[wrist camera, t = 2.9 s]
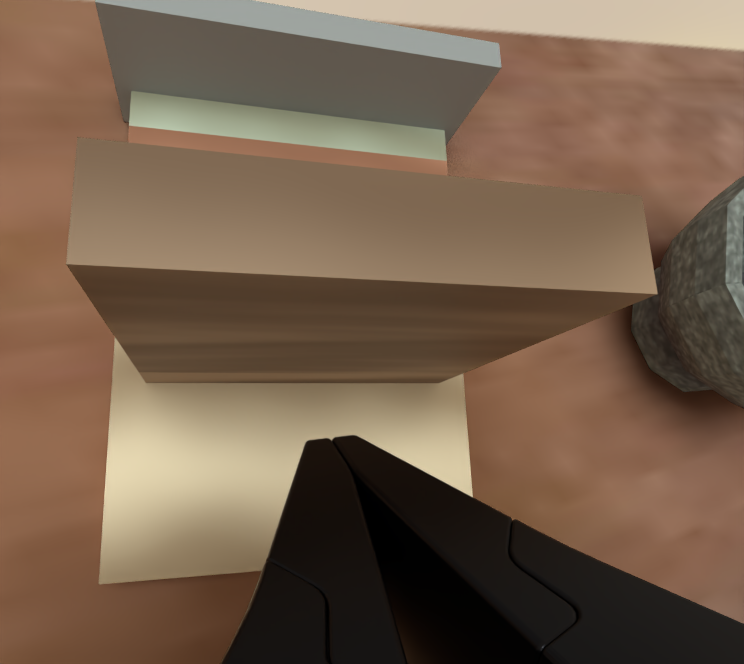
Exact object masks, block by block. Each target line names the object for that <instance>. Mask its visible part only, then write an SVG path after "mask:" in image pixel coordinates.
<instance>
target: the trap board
mask: <svg viewBox="0 0 744 664" xmlns="http://www.w3.org/2000/svg"><path fill="white" fill-rule="evenodd" d="M128 142H129V143H139V144H148V145H158V146H168V147H177V148H187V149H196V150H206V151H216V152H225V153H235V154H244V155H254V156H264V157H273V158H283V159H292V160H302V161H312V162H321V163H331V164H340V165H350V166H360V167H369V168H379V169H388V170H398V171H408V172H417V173H427V174H436V175H446V176H448V170H447V157H446V144H445V131H444V130H437V129H430V128H422V127H414V126H406V125H398V124H390V123H382V122H374V121H366V120H358V119H350V118H343V117H335V116H327V115H319V114H311V113H303V112H295V111H287V110H279V109H271V108H263V107H256V106H248V105H240V104H232V103H224V102H216V101H208V100H200V99H192V98H184V97H176V96H168V95H161V94H153V93H145V92H137V91H131V103H130V118H129V133H128ZM348 435H356V436H359V437H360V438H362V439H364V440H366V441H368V442H370V443H372V444H374V445H375V446H377V447H379V448H381V449H383V450H385V451H387V452H389V453H390V454H392V455H394V456H396V457H398V458H400V459H402V460H404V461H406V462H407V463H409V464H411V465H413V466H415V467H417V468H419V469H421V470H422V471H424V472H426V473H428V474H430V475H432V476H434V477H436V478H437V479H439V480H441V481H443V482H445V483H447V484H449V485H451V486H453V487H454V488H456V489H458V490H460V491H462V492H464V493H466V494H468V495H469V496H471V497H473V495H472V482H471V469H470V456H469V443H468V430H467V417H466V404H465V391H464V378H463V374H460V375H458V376H455V377H453V378H451V379H448V380H446V381H443V382H441V383H146V382H145V381H144V379H143V378H142V376H141V375H140V373H139V372H138V371H137V369H136V368H135V366H134V365H133V363H132V362H131V360H130V359H129V357H128V356H127V354H126V353H125V351H124V350H123V348H122V347H121V345H120V344H119V342H118V341H117V339H116V338H115V345H114V360H113V376H112V391H111V406H110V421H109V436H108V451H107V466H106V482H105V497H104V512H103V527H102V542H101V557H100V573H99V584H110V583H122V582H134V581H146V580H158V579H169V578H181V577H193V576H205V575H217V574H229V573H241V572H253V571H262V568H263V565H264V564H265V562H266V558H267V555H268V552H269V549H270V546H271V543H272V540H273V537H274V534H275V531H276V528H277V526H278V523H279V520H280V517H281V514H282V511H283V508H284V505H285V502H286V499H287V496H288V493H289V490H290V487H291V484H292V481H293V478H294V475H295V472H296V469H297V466H298V463H299V460H300V457H301V454H302V451H303V448H304V445H305V443H306V441H308V440H314V439H323V438H329V439H331V441H332V439H333V438H334V437H339V436H348Z"/></svg>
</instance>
